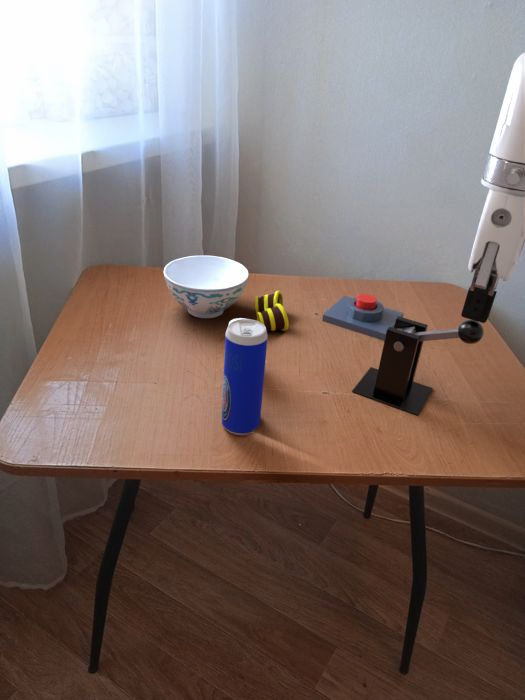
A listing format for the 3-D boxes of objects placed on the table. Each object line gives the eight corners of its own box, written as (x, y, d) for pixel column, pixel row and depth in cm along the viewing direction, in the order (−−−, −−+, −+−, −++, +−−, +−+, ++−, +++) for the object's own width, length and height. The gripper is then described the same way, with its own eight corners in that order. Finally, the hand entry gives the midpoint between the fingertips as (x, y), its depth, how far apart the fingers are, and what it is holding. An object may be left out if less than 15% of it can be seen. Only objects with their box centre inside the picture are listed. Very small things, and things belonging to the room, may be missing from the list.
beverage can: (223, 411, 78) (227, 316, 70) (260, 414, 78) (268, 319, 70) (219, 435, 73) (223, 336, 66) (258, 438, 73) (267, 339, 66)
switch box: (401, 323, 105) (405, 304, 103) (384, 345, 97) (388, 325, 95) (342, 305, 110) (345, 286, 108) (321, 325, 102) (324, 305, 100)
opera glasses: (256, 313, 106) (252, 290, 103) (283, 309, 106) (281, 285, 103) (260, 339, 97) (256, 314, 95) (290, 335, 97) (287, 310, 95)
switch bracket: (431, 394, 85) (450, 326, 79) (416, 421, 79) (435, 350, 73) (369, 372, 89) (383, 306, 83) (350, 397, 83) (364, 327, 77)
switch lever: (487, 336, 75) (483, 314, 74) (483, 346, 72) (478, 324, 71) (401, 344, 82) (396, 324, 81) (394, 353, 79) (389, 333, 78)
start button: (378, 306, 102) (379, 297, 101) (371, 313, 100) (373, 304, 99) (359, 300, 104) (361, 292, 103) (352, 307, 101) (353, 298, 100)
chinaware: (168, 331, 96) (167, 290, 92) (161, 293, 108) (160, 256, 104) (253, 327, 99) (256, 287, 95) (237, 291, 112) (239, 254, 108)
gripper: (546, 195, 56) (493, 350, 66) (559, 170, 68) (512, 305, 77) (471, 180, 59) (430, 331, 69) (496, 158, 71) (458, 290, 80)
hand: (474, 317), depth 73 cm, fingers closed
